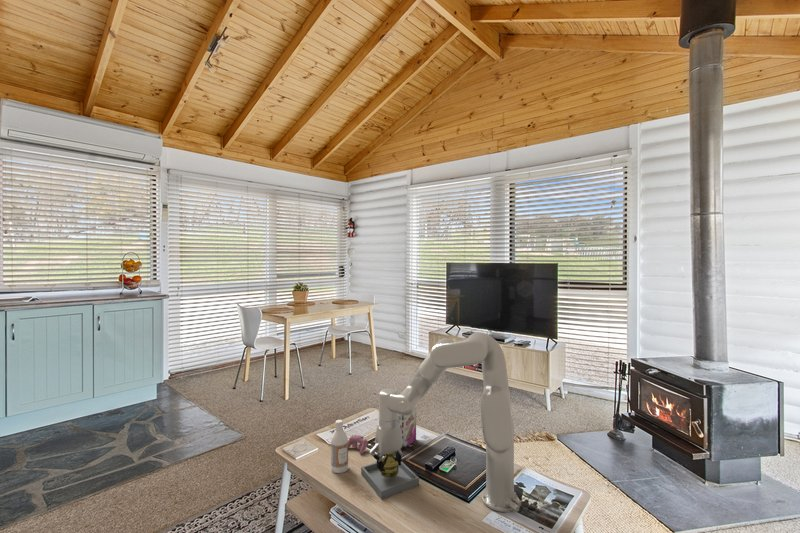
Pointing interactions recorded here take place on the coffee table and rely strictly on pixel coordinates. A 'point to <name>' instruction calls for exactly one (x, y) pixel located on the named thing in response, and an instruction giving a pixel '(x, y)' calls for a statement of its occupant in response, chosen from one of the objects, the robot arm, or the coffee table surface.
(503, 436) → the robot arm
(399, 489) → the tray
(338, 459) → the bath foam
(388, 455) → the salt shaker
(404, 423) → the candy bar box
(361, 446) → the pink lumpy piece
